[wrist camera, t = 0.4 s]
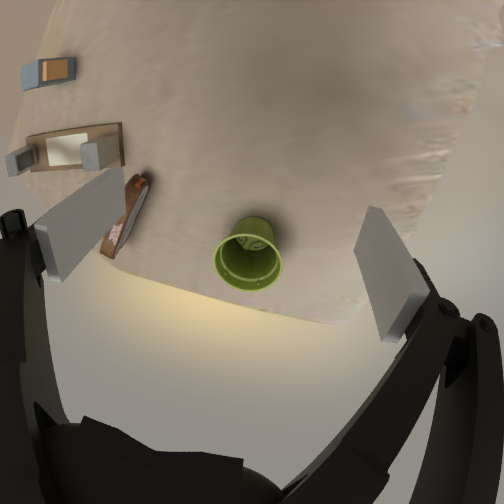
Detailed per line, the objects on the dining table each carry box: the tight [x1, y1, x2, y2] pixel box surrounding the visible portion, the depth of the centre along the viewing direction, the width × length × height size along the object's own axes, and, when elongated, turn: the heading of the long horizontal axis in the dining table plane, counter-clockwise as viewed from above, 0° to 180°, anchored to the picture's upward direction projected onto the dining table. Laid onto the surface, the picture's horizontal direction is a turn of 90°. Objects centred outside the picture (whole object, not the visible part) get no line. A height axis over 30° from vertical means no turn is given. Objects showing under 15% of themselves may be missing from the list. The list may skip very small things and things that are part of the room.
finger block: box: [21, 57, 75, 91], centre depth 29 cm, size 4×5×9 cm
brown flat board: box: [26, 123, 125, 172], centre depth 40 cm, size 7×22×1 cm, turn 87°
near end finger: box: [80, 134, 120, 171], centre depth 36 cm, size 4×4×6 cm
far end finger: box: [5, 144, 39, 177], centre depth 37 cm, size 4×4×6 cm
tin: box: [100, 174, 150, 259], centre depth 42 cm, size 15×3×8 cm, turn 147°
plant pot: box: [213, 217, 283, 292], centre depth 43 cm, size 9×9×9 cm
